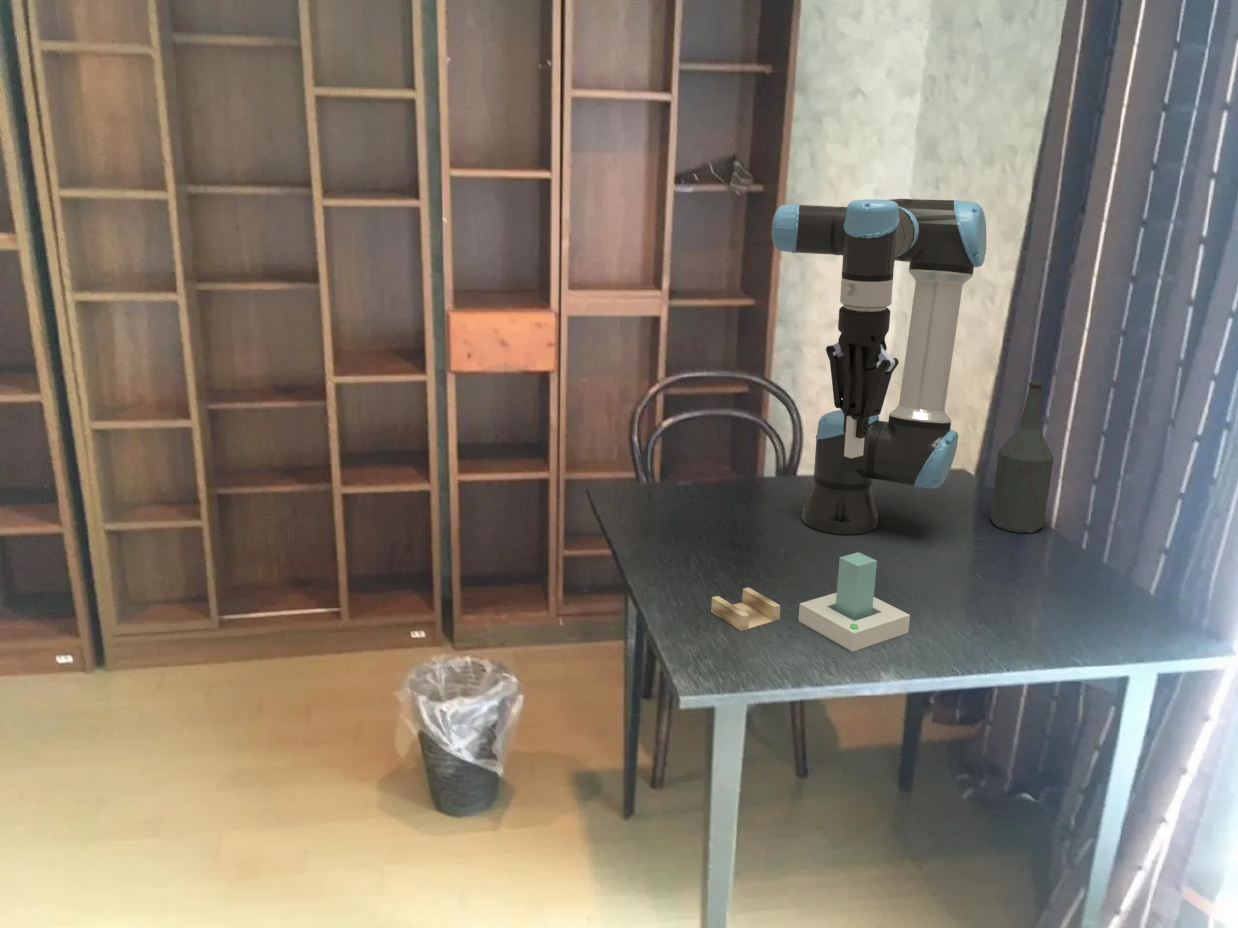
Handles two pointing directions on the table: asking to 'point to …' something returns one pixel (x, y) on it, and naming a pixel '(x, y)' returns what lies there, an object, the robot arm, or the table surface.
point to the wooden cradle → (746, 610)
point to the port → (853, 622)
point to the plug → (856, 586)
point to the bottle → (1023, 472)
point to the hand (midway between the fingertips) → (853, 455)
